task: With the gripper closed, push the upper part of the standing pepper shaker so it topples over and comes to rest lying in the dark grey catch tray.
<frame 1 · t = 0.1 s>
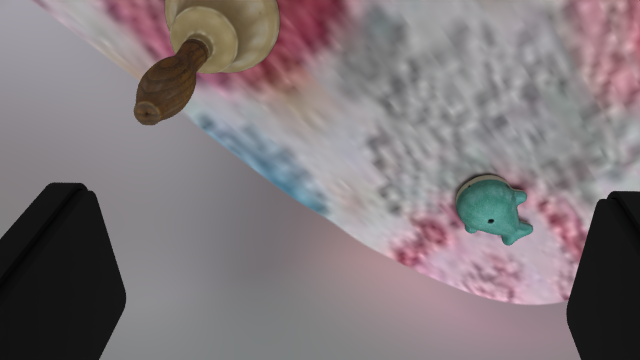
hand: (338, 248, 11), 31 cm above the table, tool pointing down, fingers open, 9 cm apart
hand bell: (223, 16, 40), on the table
whale figurine: (492, 202, 48), on the table
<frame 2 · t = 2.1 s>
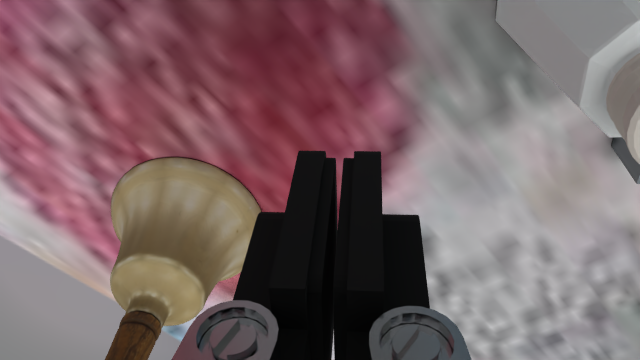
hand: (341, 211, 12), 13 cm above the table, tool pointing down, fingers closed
hand bell: (189, 219, 30), on the table
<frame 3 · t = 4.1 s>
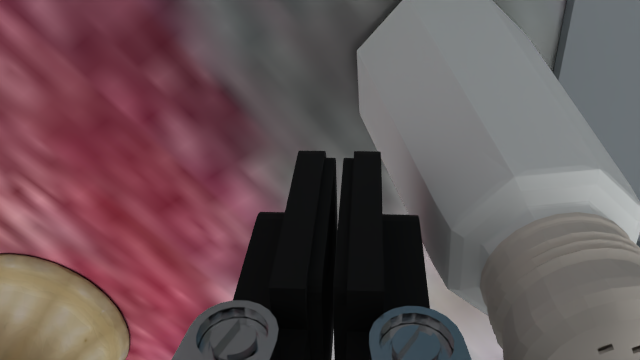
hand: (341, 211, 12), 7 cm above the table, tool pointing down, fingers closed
hand bell: (42, 318, 26), on the table
pepper shaker: (437, 71, 17), on the table
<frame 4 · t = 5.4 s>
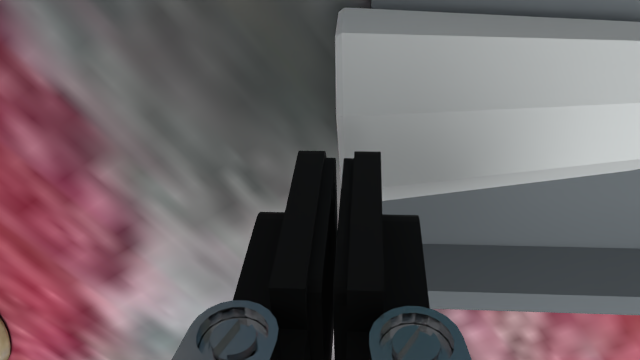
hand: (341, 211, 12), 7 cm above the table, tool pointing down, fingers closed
pepper shaker: (334, 109, 16), point 3 cm above the table, touching catch tray
catch tray: (619, 76, 17), on the table
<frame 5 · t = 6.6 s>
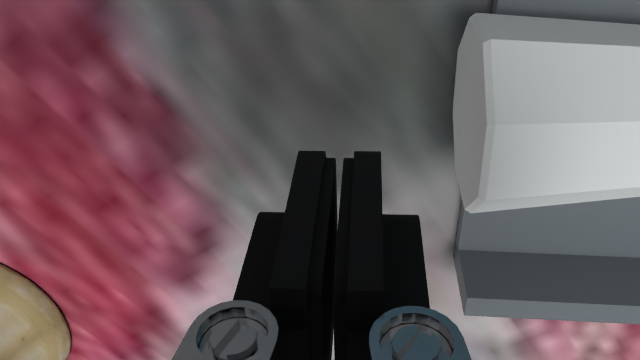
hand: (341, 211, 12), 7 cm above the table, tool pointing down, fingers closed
pepper shaker: (459, 116, 15), point 3 cm above the table, touching catch tray
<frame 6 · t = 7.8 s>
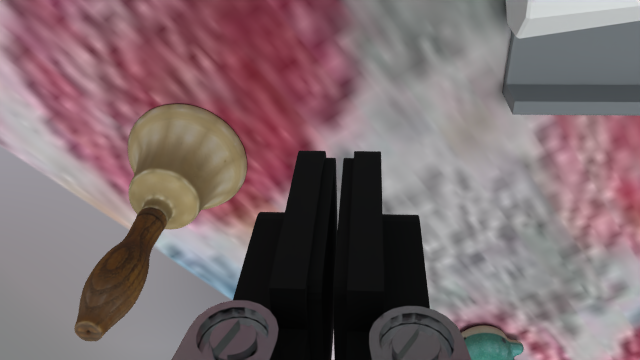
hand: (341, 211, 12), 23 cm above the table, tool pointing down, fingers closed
hand bell: (188, 156, 39), on the table
whale figurine: (488, 346, 47), on the table
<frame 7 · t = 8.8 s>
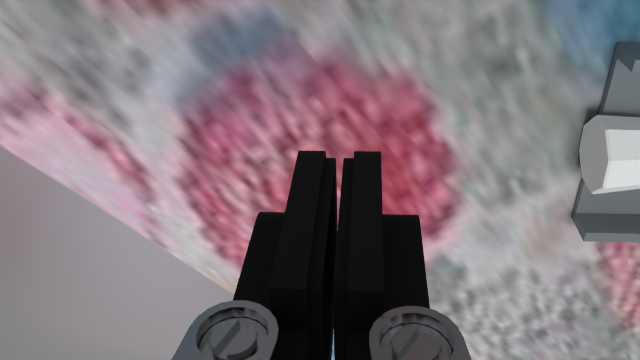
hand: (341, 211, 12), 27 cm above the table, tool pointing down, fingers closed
pepper shaker: (589, 155, 38), point 3 cm above the table, touching catch tray
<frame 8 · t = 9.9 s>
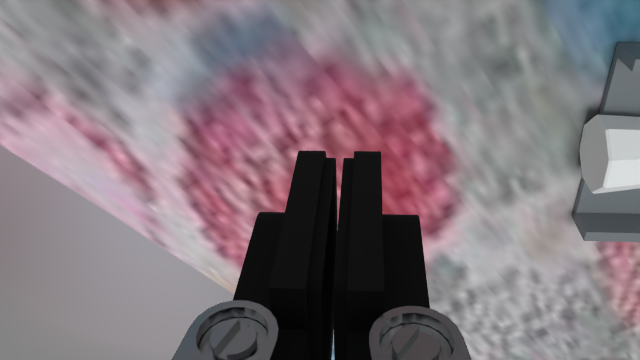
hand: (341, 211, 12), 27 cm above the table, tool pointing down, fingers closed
pepper shaker: (590, 154, 38), point 3 cm above the table, touching catch tray
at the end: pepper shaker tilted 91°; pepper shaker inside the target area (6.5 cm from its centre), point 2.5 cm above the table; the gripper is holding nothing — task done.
